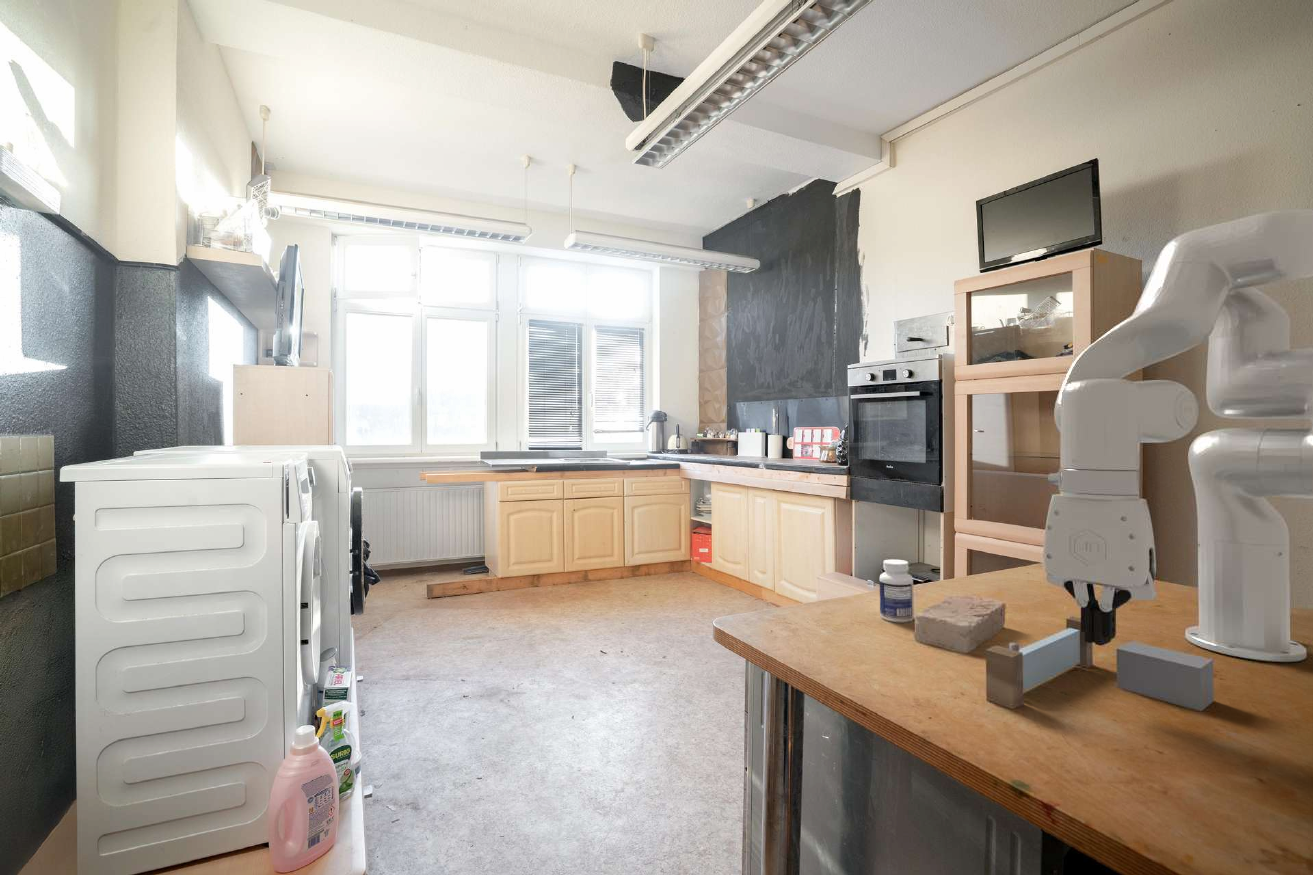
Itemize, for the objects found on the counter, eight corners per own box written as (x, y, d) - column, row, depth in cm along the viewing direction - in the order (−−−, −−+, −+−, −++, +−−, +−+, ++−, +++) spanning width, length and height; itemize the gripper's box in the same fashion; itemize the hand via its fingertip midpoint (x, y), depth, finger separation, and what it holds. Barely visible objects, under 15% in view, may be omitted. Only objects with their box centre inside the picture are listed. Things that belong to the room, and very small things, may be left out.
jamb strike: (1072, 659, 85) (1072, 616, 85) (1092, 664, 83) (1092, 620, 83) (1066, 662, 84) (1066, 618, 84) (1086, 667, 82) (1086, 623, 82)
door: (1017, 696, 73) (1017, 646, 73) (997, 690, 75) (996, 641, 75) (1080, 664, 82) (1079, 620, 82) (1060, 659, 84) (1059, 616, 84)
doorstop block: (1131, 679, 78) (1130, 640, 78) (1213, 702, 71) (1213, 659, 71) (1117, 688, 76) (1116, 648, 75) (1201, 712, 69) (1200, 668, 69)
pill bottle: (884, 611, 108) (884, 557, 108) (917, 616, 105) (916, 560, 105) (876, 619, 104) (875, 562, 104) (909, 625, 101) (908, 566, 101)
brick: (969, 656, 88) (969, 623, 88) (911, 642, 94) (911, 611, 94) (1007, 629, 99) (1007, 600, 99) (953, 619, 105) (953, 591, 105)
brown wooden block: (996, 694, 74) (996, 645, 74) (1023, 703, 71) (1022, 652, 71) (986, 699, 73) (985, 649, 73) (1012, 709, 70) (1012, 657, 70)
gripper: (1015, 482, 76) (1015, 630, 76) (1166, 490, 63) (1166, 668, 63) (1044, 480, 80) (1043, 621, 80) (1191, 488, 68) (1190, 654, 67)
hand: (1098, 641), depth 71 cm, fingers closed
